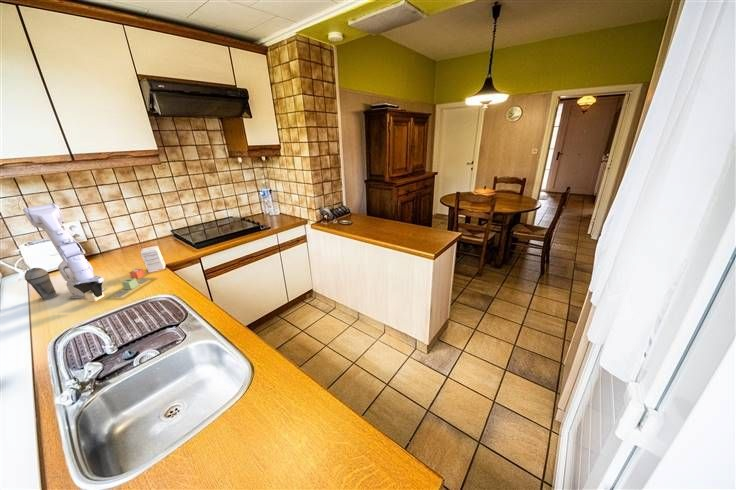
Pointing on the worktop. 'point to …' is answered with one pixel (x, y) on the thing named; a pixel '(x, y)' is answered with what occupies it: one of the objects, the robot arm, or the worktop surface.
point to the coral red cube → (137, 273)
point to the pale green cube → (130, 283)
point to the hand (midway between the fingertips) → (95, 295)
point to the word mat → (132, 289)
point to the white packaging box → (153, 259)
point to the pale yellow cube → (92, 296)
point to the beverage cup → (40, 282)
